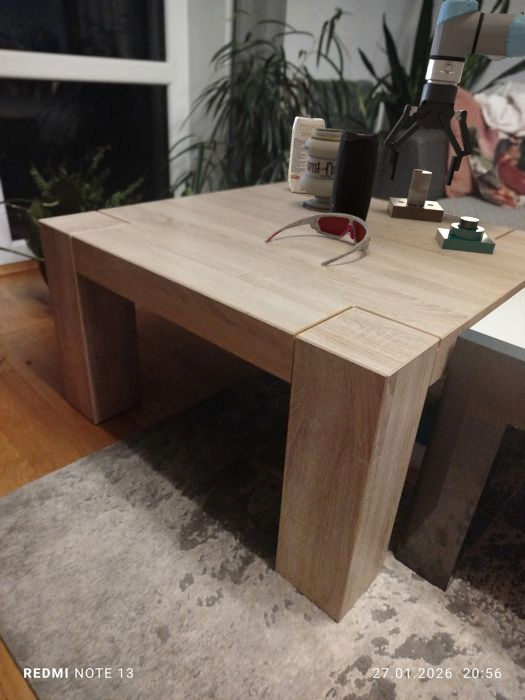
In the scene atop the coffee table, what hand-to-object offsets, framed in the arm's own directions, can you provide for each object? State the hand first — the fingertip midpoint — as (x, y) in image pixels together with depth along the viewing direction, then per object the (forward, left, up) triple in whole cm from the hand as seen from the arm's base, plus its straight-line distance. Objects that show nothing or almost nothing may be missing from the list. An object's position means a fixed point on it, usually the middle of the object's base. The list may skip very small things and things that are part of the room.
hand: (419, 182), depth 122 cm
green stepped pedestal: (-7, +24, -8) cm, 26 cm away
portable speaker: (+17, +18, -8) cm, 26 cm away
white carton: (+29, -17, -8) cm, 34 cm away
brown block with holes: (0, 0, -8) cm, 8 cm away
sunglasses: (+22, +36, -8) cm, 43 cm away
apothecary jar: (+23, +1, -8) cm, 24 cm away
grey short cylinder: (-7, +24, -4) cm, 26 cm away
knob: (0, 0, -5) cm, 5 cm away
